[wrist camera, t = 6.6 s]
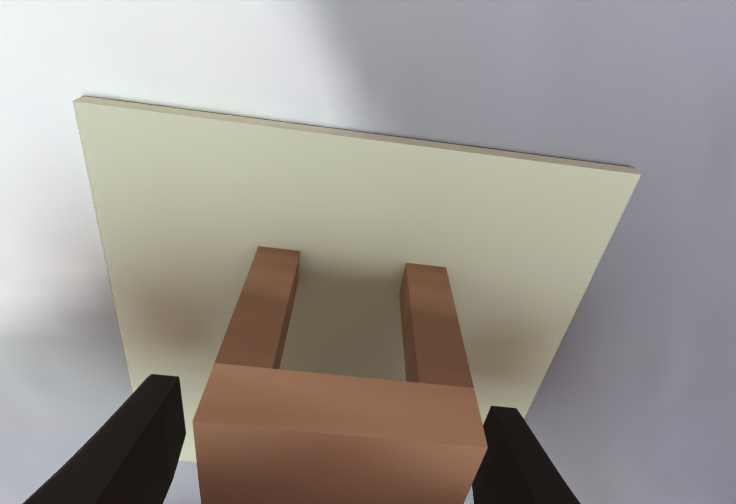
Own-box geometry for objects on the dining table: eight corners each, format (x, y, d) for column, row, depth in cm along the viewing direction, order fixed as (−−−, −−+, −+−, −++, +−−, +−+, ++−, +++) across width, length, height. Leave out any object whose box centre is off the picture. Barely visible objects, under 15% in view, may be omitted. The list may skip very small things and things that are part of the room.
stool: (399, 441, 15) (409, 627, 11) (257, 429, 15) (213, 615, 11) (446, 267, 12) (488, 447, 7) (258, 246, 11) (192, 421, 7)
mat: (632, 167, 11) (640, 174, 10) (489, 475, 17) (492, 486, 17) (83, 96, 10) (72, 101, 10) (150, 447, 16) (146, 457, 16)
